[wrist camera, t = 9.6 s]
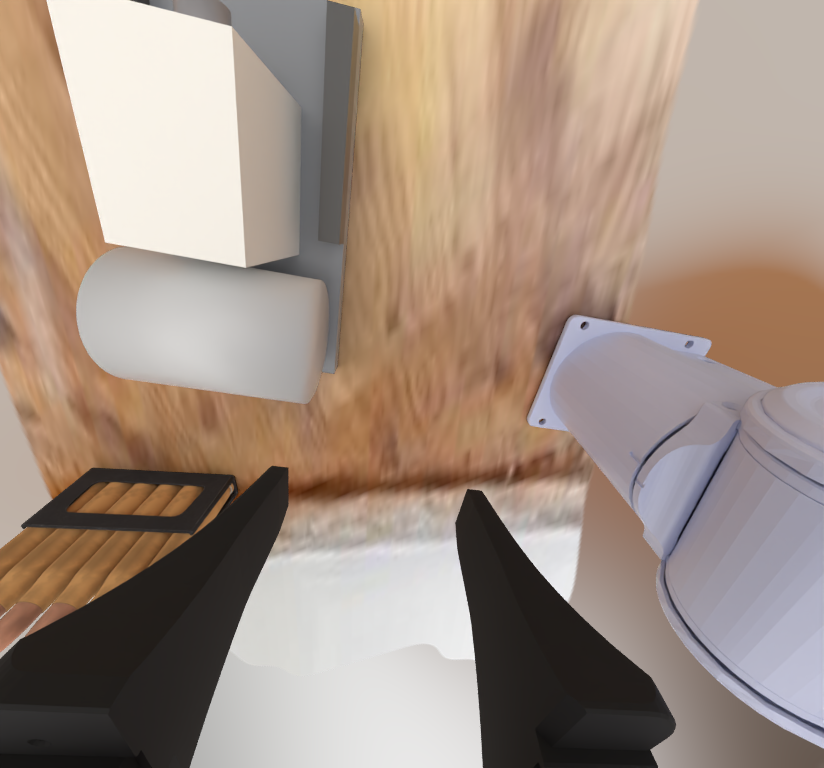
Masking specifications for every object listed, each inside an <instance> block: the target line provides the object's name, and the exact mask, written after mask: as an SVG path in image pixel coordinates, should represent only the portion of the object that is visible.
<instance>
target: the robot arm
mask: <svg viewBox="0 0 824 768" xmlns="http://www.w3.org/2000/svg"><path fill="white" fill-rule="evenodd" d="M583 322H586V325H585V326H584V327H583V328H580V326H581V324H582V323H583ZM686 342H688V343H687V345H685V344H686ZM710 347H711V341H710V340H708V339H706V338H702V337H697V336H691V335H685V334H680V333H675V332H669V331H664V330H658V329H653V328H648V327H642V326H637V325H631V324H626V323H620V322H615V321H609V320H604V319H598V318H593V317H587V316H582V315H573V316H571V317H570V318H568V320H567V322H566V324H565V326H564V329H563V331H562V334H561V336H560V339H559V341H558V343H557V346H556V348H555V351H554V353H553V356H552V358H551V360H550V363H549V365H548V368H547V370H546V373H545V375H544V378H543V380H542V382H541V385H540V387H539V390H538V392H537V395H536V397H535V399H534V402H533V404H532V407H531V409H530V412H529V414H528V416H527V422H528V423H529V424H530V425H531V426H534V427H541V428H548V429H556V430H563V431H570V433H571V434H572V435H573V436H574V437H575V439H576V440H577V441H578V442H579V444H580V445H581V446H582V447H583V449H584V450H585V451H586V452H587V454H588V455H589V456H590V457H591V458H592V460H593V461H594V462H595V463H596V465H597V466H598V467H599V468H600V470H601V471H602V472H603V473H604V474H605V476H606V477H607V478H608V479H609V481H610V482H611V483H612V484H613V486H614V487H615V488H616V489H617V491H619V493H620V494H621V495H622V497H623V498H624V499H625V500H626V502H627V503H628V504H629V505H630V506H631V508H632V509H633V510H634V512H635V513H636V514H637V515H638V516H639V518H640V519H641V520H642V522H643V523H644V527H645V530H644V534H643V537H644V539H645V540H646V541H647V542H648V544H649V545H650V546H651V547H652V549H653V550H654V551H655V553H656V554H657V555H658V556H659V558H660V559H661V560H662V561H661V563H660V565H659V567H658V570H657V574H656V589H657V593H658V597H659V601H660V603H661V606H662V609H663V611H664V613H665V615H666V617H667V619H668V620H669V622H670V624H671V626H672V628H673V629H674V630H675V632H676V634H677V635H678V636H679V638H680V639H681V640H682V642H683V643H684V645H685V646H686V647H687V648H688V650H689V651H690V652H691V653H692V654H693V655H694V657H695V658H696V659H697V660H698V661H699V662H700V663H701V664H702V665H703V666H704V667H705V668H706V669H707V670H708V671H709V672H710V673H711V674H712V675H713V676H714V677H715V678H716V679H717V680H718V681H719V682H720V683H721V684H722V685H724V686H725V687H726V688H727V689H728V690H729V691H731V692H732V693H733V694H734V695H735V696H736V697H738V698H739V699H741V700H742V701H743V702H745V703H746V704H747V705H749V706H750V707H751V708H753V709H754V710H755V711H757V712H758V713H760V714H761V715H763V716H764V717H766V718H768V719H769V720H771V721H772V722H774V723H776V724H777V725H779V726H780V727H782V728H784V729H786V730H788V731H790V732H792V733H794V734H796V735H798V736H800V737H802V738H804V739H806V740H808V741H810V742H812V743H814V744H816V745H818V746H820V747H822V748H824V382H807V383H798V384H794V385H789V386H786V387H778V388H777V387H775V386H772V385H770V384H768V383H765V382H763V381H761V380H758V379H756V378H754V377H751V376H749V375H747V374H744V373H742V372H740V371H737V370H735V369H732V368H730V367H728V366H726V365H723V364H721V363H719V362H716V361H714V360H712V359H709V358H707V357H705V355H706V354H707V352H708V350H709V349H710ZM541 419H544V420H543V421H541V422H539V420H541ZM287 508H288V468H286V467H277V466H271V467H270V468H269V469H268V470H267V471H266V472H265V473H264V474H263V475H262V476H261V477H260V478H259V479H258V480H257V481H256V482H255V483H254V484H252V485H251V486H250V487H249V488H248V489H247V490H246V491H245V492H244V493H243V494H242V495H241V496H240V497H238V498H237V499H236V500H235V501H234V502H233V503H232V504H231V505H230V506H228V507H227V508H226V509H225V510H224V511H223V512H222V513H220V514H219V515H218V516H217V517H215V518H214V519H213V520H212V521H211V522H209V523H208V524H207V525H206V526H205V527H203V528H202V529H201V530H200V531H198V532H197V533H196V534H194V535H193V536H192V537H190V538H189V539H188V540H186V541H185V542H184V543H182V544H181V545H180V546H178V547H177V548H175V549H174V550H173V551H171V552H170V553H168V554H167V555H165V556H164V557H162V558H161V559H159V560H158V561H156V562H155V563H153V564H152V565H151V566H149V567H148V568H146V569H144V570H143V571H141V572H140V573H138V574H137V575H135V576H133V577H132V578H130V579H129V580H127V581H125V582H124V583H122V584H120V585H119V586H117V587H115V588H114V589H112V590H110V591H108V592H107V593H105V594H103V595H102V596H100V597H98V598H97V599H95V600H93V601H92V602H90V603H88V604H86V605H85V606H83V607H81V608H79V609H77V610H75V611H74V612H72V613H70V614H68V615H66V616H64V617H62V618H60V619H58V620H57V621H55V622H53V623H51V624H49V625H47V626H45V627H43V628H41V629H40V630H38V631H36V632H34V633H32V634H30V635H28V636H26V637H24V638H22V639H20V640H19V641H18V642H17V643H16V644H15V645H14V646H13V647H12V648H11V649H10V650H9V651H8V652H7V653H6V654H5V655H4V656H3V657H2V658H1V659H0V768H189V767H190V764H191V761H192V758H193V755H194V751H195V749H196V746H197V742H198V739H199V736H200V733H201V730H202V727H203V724H204V721H205V718H206V715H207V712H208V709H209V706H210V703H211V700H212V697H213V694H214V691H215V688H216V686H217V683H218V680H219V677H220V674H221V671H222V668H223V665H224V663H225V660H226V657H227V654H228V651H229V649H230V646H231V643H232V640H233V637H234V635H235V632H236V629H237V627H238V624H239V621H240V619H241V616H242V613H243V611H244V608H245V605H246V603H247V601H248V598H249V596H250V594H251V591H252V589H253V587H254V585H255V583H256V581H257V579H258V576H259V574H260V572H261V570H262V568H263V566H264V564H265V562H266V559H267V557H268V555H269V553H270V551H271V549H272V547H273V544H274V542H275V540H276V538H277V536H278V534H279V531H280V529H281V526H282V523H283V520H284V517H285V514H286V511H287ZM455 524H456V538H457V549H458V555H459V560H460V565H461V570H462V576H463V581H464V586H465V591H466V596H467V601H468V606H469V612H470V618H471V624H472V634H473V643H474V652H475V663H476V673H477V683H478V697H479V710H480V724H481V740H482V759H483V768H658V765H657V763H656V761H655V759H654V757H653V755H652V753H651V751H650V749H652V748H653V747H655V746H656V745H658V744H659V743H661V742H662V741H663V740H665V739H667V738H668V737H669V736H670V735H671V734H673V732H674V730H675V727H676V723H675V719H674V718H673V716H672V714H671V712H670V710H669V708H668V707H667V705H666V703H665V701H664V699H663V698H662V696H661V694H660V692H659V690H658V689H657V687H656V685H655V683H654V682H653V680H652V678H651V677H650V676H649V675H648V674H646V673H645V672H644V671H643V670H642V669H640V668H639V667H638V666H637V665H635V664H634V663H633V662H632V661H631V660H629V659H628V658H627V657H626V656H625V655H623V654H622V653H621V652H620V651H619V650H617V649H616V648H615V647H614V646H613V645H612V644H610V643H609V642H608V641H607V640H606V639H605V638H604V637H603V636H602V635H601V634H599V633H598V632H597V631H596V630H595V629H594V628H593V627H592V626H591V625H590V624H589V623H588V622H586V621H585V620H584V619H583V618H582V617H581V616H580V615H579V614H578V613H577V612H576V611H575V610H574V609H573V608H572V607H571V606H570V605H569V604H568V603H567V602H566V601H565V600H564V599H563V597H562V596H561V595H560V594H559V593H558V592H557V591H556V590H555V589H554V588H553V587H552V586H551V584H550V583H549V582H548V581H547V580H546V579H545V578H544V576H543V575H542V574H541V573H540V572H539V571H538V569H537V568H536V567H535V566H534V565H533V563H532V562H531V561H530V560H529V558H528V557H527V556H526V554H525V553H524V552H523V551H522V549H521V548H520V547H519V545H518V544H517V542H516V541H515V540H514V538H513V537H512V535H511V534H510V533H509V531H508V530H507V528H506V527H505V525H504V524H503V522H502V521H501V519H500V518H499V516H498V515H497V513H496V512H495V510H494V509H493V507H492V506H491V504H490V503H489V501H488V500H487V498H486V496H485V495H484V493H483V492H482V491H479V490H470V489H467V492H466V494H465V497H464V500H463V503H462V506H461V509H460V512H459V514H458V517H457V520H456V523H455Z"/></svg>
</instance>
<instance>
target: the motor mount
mask: <svg viewBox="0 0 824 768" xmlns="http://www.w3.org/2000/svg"><path fill="white" fill-rule="evenodd" d="M130 1H134V2H138V3H142V4H146V5H150V6H154V7H157V8H161V9H165V10H169V11H173V12H174V10H173V1H172V0H130ZM219 1H221V2H222V3H223V4H224V5H225V6H226V7H227V8H228V9H229V10H230V12H231V19H232V27H233V28H234V30H235V31H236V32H237V33H238V34H239V35H240V37H241V38H242V39H243V40H244V41H245V42H246V44H247V45H248V46H249V47H250V48H251V49H252V51H253V52H254V53H255V54H256V55H257V56H258V58H259V59H260V60H261V61H262V62H263V63H264V65H265V66H266V67H267V68H268V69H269V70H270V72H271V73H272V74H273V75H274V76H275V77H276V79H277V80H278V81H279V82H280V83H281V84H282V86H283V87H284V88H285V89H286V90H287V91H288V93H289V94H290V95H291V96H292V97H293V98H294V100H295V101H296V102H297V103H298V104H299V105H300V107H301V169H300V236H299V255H296V256H292V257H288V258H284V259H280V260H275V261H271V262H267V263H263V264H259V265H255V266H251V267H247V268H244V267H239V266H233V265H228V264H222V263H217V262H211V261H206V260H200V259H195V258H189V257H184V256H178V255H173V254H167V253H161V252H156V251H150V250H145V249H139V248H134V247H128V246H125V247H119V248H115V249H113V250H110V251H108V252H106V253H105V254H103V255H102V256H100V257H99V258H98V259H97V260H96V261H95V262H94V263H93V264H92V265H91V266H90V268H89V270H88V271H87V273H86V274H85V276H84V278H83V281H82V283H81V286H80V289H79V293H78V298H77V306H76V316H77V325H78V330H79V334H80V337H81V340H82V342H83V345H84V347H85V348H86V350H87V352H88V354H89V355H90V356H91V358H92V359H93V360H94V362H95V363H96V364H97V365H98V366H99V367H100V368H102V369H103V370H104V371H106V372H107V373H109V374H111V375H113V376H116V377H119V378H122V379H129V380H136V381H143V382H150V383H157V384H165V385H172V386H179V387H186V388H193V389H200V390H208V391H215V392H222V393H229V394H236V395H244V396H251V397H258V398H265V399H272V400H279V401H287V402H294V403H301V404H307V403H309V402H310V400H311V399H312V398H313V396H314V394H315V392H316V389H317V387H318V384H319V381H320V378H321V374H322V372H325V373H332V374H335V371H336V369H337V367H338V354H339V341H340V328H341V315H342V302H343V288H344V275H345V262H346V249H347V236H348V222H349V209H350V196H351V183H352V170H353V156H354V143H355V130H356V117H357V104H358V91H359V77H360V64H361V51H362V38H363V25H364V24H363V19H362V14H361V10H360V9H358V8H354V7H351V6H347V5H343V4H339V3H336V2H332V1H328V0H219Z"/></svg>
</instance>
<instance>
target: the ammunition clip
mask: <svg viewBox="0 0 824 768" xmlns="http://www.w3.org/2000/svg"><path fill="white" fill-rule="evenodd" d="M237 494H238V491H237V486H236V482H235V477H233V475H222V474H203V473H183V472H164V471H144V470H125V469H105V468H91V469H90V470H89V471H88V472H86V473H85V474H84V475H83V476H81V477H80V478H79V479H78V480H76V481H75V482H74V483H73V484H72V485H70V486H69V487H68V488H67V489H65V490H64V491H63V492H62V493H60V494H59V495H58V496H57V497H55V498H54V499H53V500H52V501H50V502H49V503H48V504H47V505H45V506H44V507H43V508H42V509H41V510H39V511H38V512H37V513H36V514H34V515H33V516H32V517H31V518H29V519H28V520H27V521H26V522H25V523H23V524H22V525H21V527H22V528H23V529H25V528H26V527H27V528H26V529H25V530H23V531H22V532H21V533H20V534H18V535H17V536H16V537H15V538H13V539H12V540H11V541H10V542H8V543H7V544H6V545H5V546H4V547H2V548H1V549H0V617H1V616H2V615H3V614H4V613H5V612H7V611H8V610H9V609H10V608H11V607H12V606H13V605H14V604H16V605H15V606H14V607H13V608H12V609H10V610H9V612H8V613H6V615H4V616H3V617H2V619H0V652H1V651H2V650H4V649H5V648H6V647H7V646H8V645H9V644H11V643H12V642H13V641H14V640H15V639H16V638H17V637H18V636H19V635H20V634H21V633H22V632H24V631H25V630H26V628H28V627H29V625H31V623H32V622H33V621H34V620H35V619H36V618H37V617H38V616H39V615H40V614H41V613H43V612H44V611H45V610H46V609H47V608H48V607H49V606H50V605H51V604H52V603H53V604H52V606H51V607H50V608H49V609H48V610H47V611H46V612H45V614H43V616H42V617H41V618H40V619H39V620H38V621H37V622H36V623H35V625H34V626H33V627H32V628H31V629H30V631H29V632H28V633H27V634H26V636H28V635H30V634H32V633H34V632H36V631H38V630H40V629H41V628H43V627H45V626H47V625H49V624H51V623H53V622H55V621H57V620H58V619H60V618H62V617H64V616H66V615H68V614H70V613H72V612H74V611H75V610H77V609H79V608H81V607H83V606H85V605H86V604H87V603H88V602H89V601H90V599H91V598H92V597H94V598H93V599H92V600H91V601H90V602H92V601H93V600H95V599H97V598H98V597H100V596H102V595H103V594H105V593H107V592H108V591H110V590H112V589H114V588H115V587H117V586H119V585H120V584H122V583H124V582H125V581H127V580H129V579H130V578H132V577H133V576H135V575H137V574H138V573H140V572H141V571H143V570H144V569H146V568H148V567H149V566H151V565H152V564H153V563H155V562H156V561H158V560H159V559H161V558H162V557H164V556H165V555H167V554H168V553H170V552H171V551H173V550H174V549H175V548H177V547H178V546H180V545H181V544H182V543H184V542H185V541H186V540H188V539H189V538H190V537H192V536H193V535H194V534H196V533H197V532H198V531H200V530H201V529H202V528H203V527H205V526H206V525H207V524H208V523H209V522H211V521H212V520H213V519H214V518H215V517H217V516H218V515H219V514H220V513H222V512H223V511H224V510H225V509H226V508H227V507H228V506H229V505H230V504H231V502H232V501H233V499H234V498H235V496H236V495H237ZM26 636H25V637H26Z"/></svg>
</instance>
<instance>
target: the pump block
mask: <svg viewBox="0 0 824 768" xmlns="http://www.w3.org/2000/svg"><path fill="white" fill-rule="evenodd" d="M172 1H173V10H174V12H173V11H169V10H165V9H161V8H157V7H154V6H150V5H146V4H142V3H138V2H134V1H130V0H47V4H48V8H49V12H50V16H51V21H52V25H53V29H54V33H55V37H56V41H57V45H58V49H59V53H60V58H61V62H62V66H63V70H64V74H65V78H66V82H67V86H68V91H69V95H70V99H71V103H72V107H73V111H74V115H75V119H76V123H77V128H78V132H79V136H80V140H81V144H82V148H83V152H84V156H85V160H86V165H87V169H88V173H89V177H90V181H91V185H92V189H93V193H94V197H95V202H96V206H97V210H98V214H99V218H100V222H101V226H102V230H103V234H104V239H105V242H106V243H112V244H117V245H123V246H128V247H134V248H139V249H145V250H150V251H156V252H161V253H167V254H173V255H178V256H184V257H189V258H195V259H200V260H206V261H211V262H217V263H222V264H228V265H233V266H239V267H244V268H247V267H251V266H255V265H259V264H263V263H267V262H271V261H275V260H280V259H284V258H288V257H292V256H296V255H299V236H300V169H301V107H300V105H299V104H298V103H297V102H296V101H295V100H294V98H293V97H292V96H291V95H290V94H289V93H288V91H287V90H286V89H285V88H284V87H283V86H282V84H281V83H280V82H279V81H278V80H277V79H276V77H275V76H274V75H273V74H272V73H271V72H270V70H269V69H268V68H267V67H266V66H265V65H264V63H263V62H262V61H261V60H260V59H259V58H258V56H257V55H256V54H255V53H254V52H253V51H252V49H251V48H250V47H249V46H248V45H247V44H246V42H245V41H244V40H243V39H242V38H241V37H240V35H239V34H238V33H237V32H236V31H235V30H234V28H233V27H232V19H231V12H230V10H229V9H228V8H227V7H226V6H225V5H224V4H223V3H222V2H221V1H219V0H172Z"/></svg>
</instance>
